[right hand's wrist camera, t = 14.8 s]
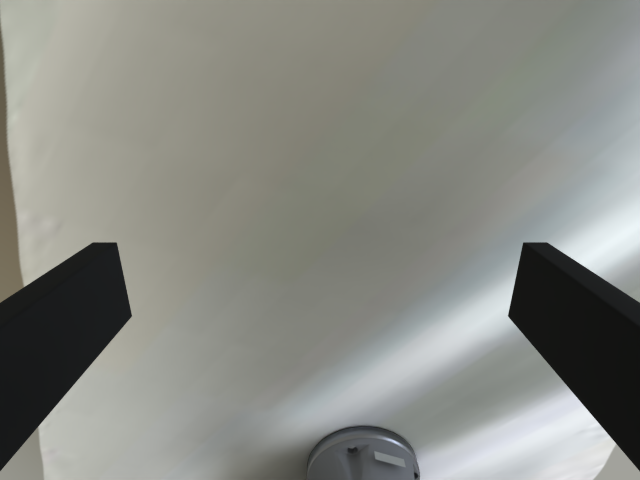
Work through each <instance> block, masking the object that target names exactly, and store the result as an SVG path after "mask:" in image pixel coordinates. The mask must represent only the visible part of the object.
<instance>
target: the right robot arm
mask: <svg viewBox="0 0 640 480" xmlns="http://www.w3.org/2000/svg"><path fill="white" fill-rule="evenodd" d="M131 317H132V314H131V309H130V305H129V300H128V295H127V290H126V285H125V280H124V276H123V271H122V266H121V261H120V256H119V251H118V246H117V243H92V244H90V245H88V246H87V247H85V248H84V249H82V250H81V251H79V252H78V253H76V254H75V255H73V256H72V257H70V258H68V259H67V260H65V261H64V262H62V263H61V264H59V265H58V266H56V267H55V268H53V269H52V270H50V271H48V272H47V273H45V274H44V275H42V276H41V277H39V278H38V279H36V280H35V281H33V282H32V283H30V284H29V285H27V286H25V287H24V288H22V289H21V290H19V291H18V292H16V293H15V294H13V295H12V296H10V297H9V298H7V299H6V300H4V301H2V302H1V303H0V471H1V470H2V468H3V467H4V466H5V465H6V464H7V462H8V461H9V460H10V459H11V458H12V457H13V455H14V454H15V453H16V452H17V451H18V450H19V448H20V447H21V446H22V445H23V444H24V443H25V441H26V440H27V439H28V438H29V437H30V435H31V434H32V433H33V432H34V431H35V430H36V428H37V427H38V426H39V425H40V424H41V423H42V421H43V420H44V419H45V418H46V417H47V415H48V414H49V413H50V412H51V411H52V410H53V408H54V407H55V406H56V405H57V404H58V403H59V401H60V400H61V399H62V398H63V397H64V395H65V394H66V393H67V392H68V391H69V390H70V388H71V387H72V386H73V385H74V384H75V383H76V381H77V380H78V379H79V378H80V377H81V375H82V374H83V373H84V372H85V371H86V370H87V368H88V367H89V366H90V365H91V364H92V363H93V361H94V360H95V359H96V358H97V357H98V355H99V354H100V353H101V352H102V351H103V350H104V348H105V347H106V346H107V345H108V344H109V343H110V341H111V340H112V339H113V338H114V337H115V335H116V334H117V333H118V332H119V331H120V330H121V328H122V327H123V326H124V325H125V324H126V322H127V321H128V320H129V319H130V318H131ZM508 317H509V318H510V319H511V320H512V321H513V323H514V324H515V325H516V326H517V327H518V328H519V330H520V331H521V332H522V333H523V334H524V335H525V337H526V338H527V339H528V340H529V341H530V343H531V344H532V345H533V346H534V347H535V348H536V350H537V351H538V352H539V353H540V354H541V355H542V357H543V358H544V359H545V360H546V361H547V363H548V364H549V365H550V366H551V367H552V368H553V370H554V371H555V372H556V373H557V374H558V375H559V377H560V378H561V379H562V380H563V381H564V383H565V384H566V385H567V386H568V387H569V388H570V390H571V391H572V392H573V393H574V394H575V395H576V397H577V398H578V399H579V400H580V401H581V403H582V404H583V405H584V406H585V407H586V408H587V410H588V411H589V412H590V413H591V414H592V415H593V417H594V418H595V419H596V420H597V421H598V423H599V424H600V425H601V426H602V427H603V428H604V430H605V431H606V432H607V433H608V434H609V435H610V437H611V438H612V439H613V440H614V441H615V443H616V444H617V445H618V446H619V447H620V448H621V450H622V451H623V452H624V453H625V454H626V455H627V457H628V458H629V459H630V460H631V461H632V463H633V464H634V465H635V466H636V467H637V468H638V470H639V471H640V303H639V302H638V301H636V300H635V299H633V298H631V297H630V296H628V295H627V294H625V293H624V292H622V291H621V290H619V289H618V288H616V287H615V286H613V285H611V284H610V283H608V282H607V281H605V280H604V279H602V278H601V277H599V276H598V275H596V274H595V273H593V272H592V271H590V270H588V269H587V268H585V267H584V266H582V265H581V264H579V263H578V262H576V261H575V260H573V259H572V258H570V257H568V256H567V255H565V254H564V253H562V252H561V251H559V250H558V249H556V248H555V247H553V246H552V245H550V244H548V243H523V246H522V251H521V256H520V261H519V266H518V271H517V276H516V280H515V285H514V290H513V295H512V300H511V305H510V309H509V314H508ZM307 480H420V472H419V467H418V463H417V459H416V456H415V453H414V451H413V449H412V448H411V446H410V445H409V444H408V443H407V442H406V441H405V440H404V439H403V438H401V437H400V436H398V435H396V434H394V433H392V432H390V431H387V430H384V429H380V428H374V427H354V428H348V429H344V430H341V431H338V432H336V433H333V434H331V435H329V436H328V437H326V438H325V439H323V440H322V441H321V442H320V443H319V444H318V445H317V446H316V447H315V448H314V449H313V451H312V453H311V454H310V457H309V459H308V465H307Z"/></svg>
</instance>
